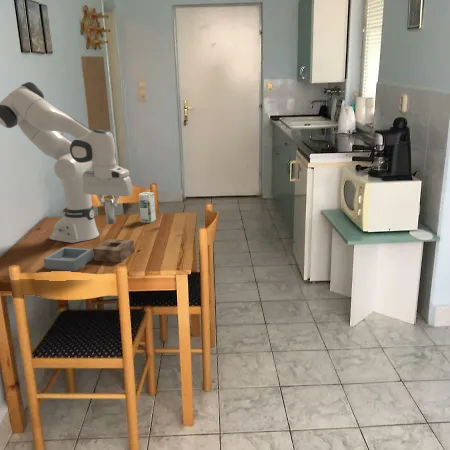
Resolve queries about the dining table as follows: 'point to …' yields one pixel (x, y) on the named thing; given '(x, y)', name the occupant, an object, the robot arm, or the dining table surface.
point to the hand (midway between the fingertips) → (109, 205)
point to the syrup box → (147, 207)
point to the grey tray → (68, 259)
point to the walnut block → (113, 250)
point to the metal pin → (109, 209)
